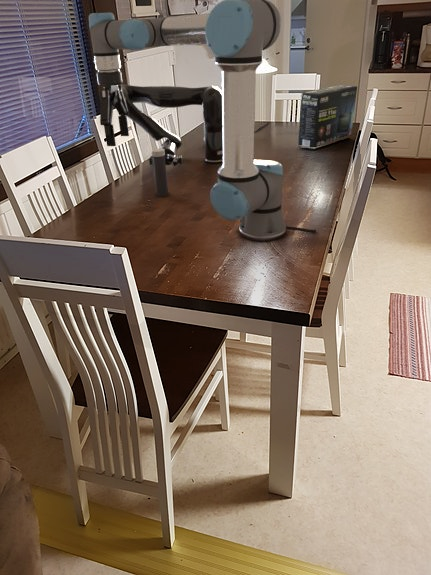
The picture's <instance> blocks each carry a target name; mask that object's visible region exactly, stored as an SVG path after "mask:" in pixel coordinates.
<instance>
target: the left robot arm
mask: <svg viewBox="0 0 431 575" xmlns="http://www.w3.org/2000/svg"><path fill="white" fill-rule="evenodd" d="M121 85H122V90H123V94H124V97H125V101H126V104H127V108H128V112H129V115H126V116H127V119H130V120H131V121H133V122H134V124H137V125H138V126H139V127H140V128H141V129H143V130H144V131H145V132H146V133H147V135H149V136H150V137H151V138H152V139H153V140H154V141H157V142H159V141H161V140H162V139H165V141H164V142H162V144H161V145H160V148H162V149H164V150H165V166H170V165H173V167H176V166H177V165H178V164H180V165H181V164H182V163H183V156H182V154H178V155H177V152H178V150H179V149H180V148H181V147H182V144H183V142H182V139H181V138H180V137H179V136H177V135H176V134H175V133H172V132H170V131H169V130H167V129H166V128H164V127H163V126H162V125H161V124H160V123H159V122H158V121H157V120H156V119H154V118H153V117H152V116H151V115H148V114H147V113H145V112H143V111H142V110H140V109H139V108H138V106H136V105H135V104H147V105H150V106H153V107H155V108H160V109H177V108H182V107H187V106H201V107H202V120H203V135H204V136H203V139H204V138H205V141H204V156H205V158H204V161H205V162H206V163H208V164H219V163H223V129H222V89H220V88H219V87H218V86H215V85H210V86H209V85H208V86H202V87H200V86H199V87H186V86H175V85H173V86H172V85H159V86H158V85H154V86H152V85H151V86H150V85H148V86H139V85H131V84H121ZM113 109H116V107H115V105H114V106H113ZM266 122H268V123H269V121H268V120H266ZM148 162H149V165H150V166H152V167H154V164H153V156H152V155H150V157H149V158H148Z"/></svg>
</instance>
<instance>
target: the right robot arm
mask: <svg viewBox="0 0 431 575" xmlns="http://www.w3.org/2000/svg"><path fill="white" fill-rule="evenodd" d="M88 28H89V29H88V30H89V35H90V40H91V46H92V52H93V57H94V58H93V63H94V64H95V70H96V71H97V72H96V78H97V84H98V85H99V86H101V87H103V90H99V97H100V107H99V108H100V110H99V112H100V113H99V115H100V117H99V124H100V126H103V128H104V129H103V130H104V136H105V142H106V146H107V147H116V146H117V142H116V137H115V136H116V135H115V129H114V124H112V123H113V115H114V107H113V106H114V105H115V107H116V108H115V110H116V111H117V114H118V116H117V118H118V126H119V133H120V137H129V136H130V132H129V125H128V117H127V116H126V115H129V112H128V108H127V104H126V101H125V97H124V94H123V90H122V85H123V76H122V71H121V70H120V69H121V68H122V65H121V59H120V53H119V50H124V51H125V50H128V51H133V52H134V51H139V50H143V49H147V48H148V49H149V48H158V47H171V46H172V47H173V46H192V45H194V46H195V45H207V46H208V47H209V48H210V49H209V50H210V51H211V52H212V53H213V54H214V55H215V56H214V59H215V62H214V63H215V65H216V66H217V67H218V68H219V69H220V71H221V91H222V129H223V162H222V165H221V166H219V168H218V169H217V182H215V184H214V185H213V186H212V187H211V190H210V192H209V193H210V194H209V197H210V198H209V199H210V203H211V205H212V207H213V209H214V210H215V211H216V212H217V214H218V215H219V216H221V217H222V218H223V219H225V220H227V221H237V220H238V221H239V226H238V232H239V235H240V236H241V237H242V238H244V239H247V240H250V241H254V242H271V241H277V240H279V239H281V238H283V237H285V235H286V234H287V230H288V231H289V230H291V231H297V232H303V233H304V232H305V233H310V234H311V233H313V234H315V233H317V229H310V228H303V227H298V226H288V225H287V223H286V221H285V216H284V214H283V210H282V200H283V183H284V168H283V165H282V164H281V163H280V162H278V161H275V160H270V159H255V132H254V130H256V129H255V128H256V127H255V125H256V124H255V122H256V80H257V79H256V77H257V76H256V74H257V69H258V68H259V67H260V66H261V64H262V63H263V51H265V50H267V49H270V48H271V47H272V46H273V45H274V44H275V43H276V42H277V40H278V38H279V37H280V33H281V31H282V17H281V13H280V11H279V9H278V7H277V6H276V5H275V4H274V3H273V2H272V1H270V0H221V1H220V2H217V3H216V5H214V7H213V8H212V10H211V11H210V12H209V13H199V14H198V13H197V14H196V13H195V14H188V15H177V16H167V17H156V18H155V17H154V18H139V19H138V18H137V19H136V18H132V19H131V18H130V19H129V18H128V19H118V20H116V19H115V14H114V13H112V12H93V13H89V15H88Z"/></svg>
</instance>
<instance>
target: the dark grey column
mask: <svg viewBox="0 0 431 575" xmlns="http://www.w3.org/2000/svg"><path fill="white" fill-rule="evenodd" d="M153 164H154V166H153V173H154V182H155V192H156V196H157V197H166V196H168V195H169V189H168V179H167V168H166V167H167V165H165V155H164V156H160V157H154V156H153Z"/></svg>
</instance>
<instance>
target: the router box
mask: <svg viewBox="0 0 431 575" xmlns="http://www.w3.org/2000/svg"><path fill="white" fill-rule="evenodd" d="M357 93H358V86H356V85H350V84H339V85H338V84H337V85H334V86H328V87H324V88H318V89H314V90H309V91H304V92H301V93H300V109H299V110H300V111H299V124H298V137H297V146H298V145H302V146H307V147H317V146H320V145H323V144H325V143H328V142H331V141H333V140H336V139H338V138H341V137H344V136H347V135H351V136H352V133H353V132H352V131H353V125H354V115H355V109H356V99H357ZM311 151H313V150H312V149H311Z"/></svg>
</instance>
